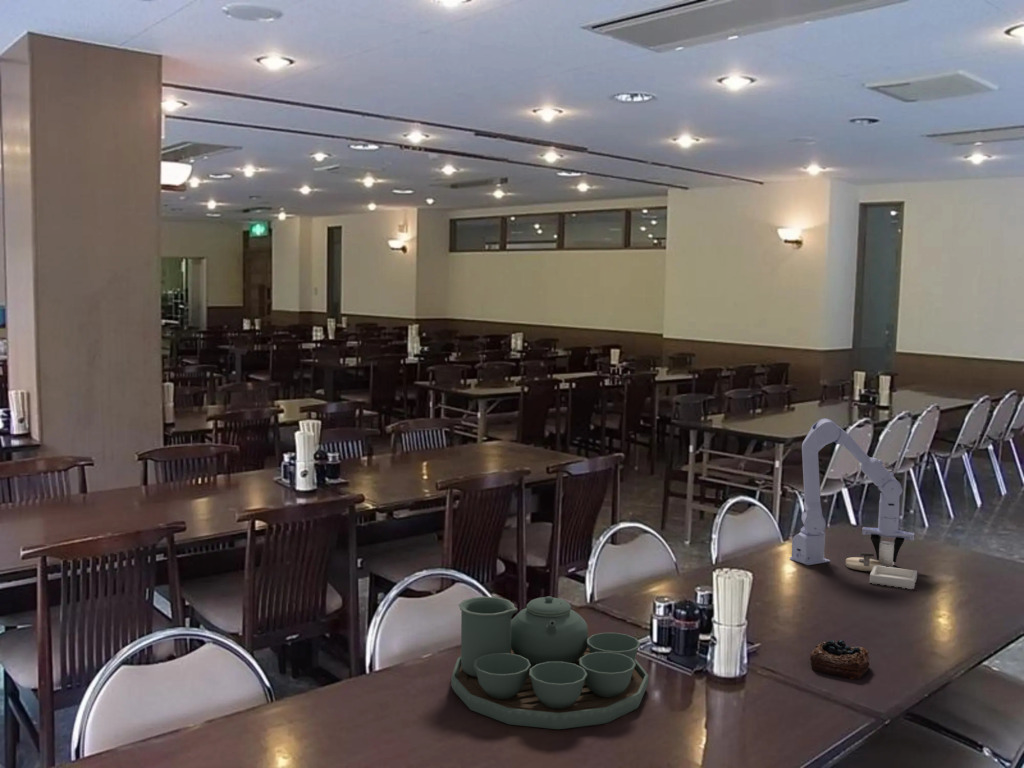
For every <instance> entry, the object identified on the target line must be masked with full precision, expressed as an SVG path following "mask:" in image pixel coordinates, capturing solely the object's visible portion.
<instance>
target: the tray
mask: <svg viewBox="0 0 1024 768" xmlns="http://www.w3.org/2000/svg"><path fill="white" fill-rule="evenodd" d="M917 579H918V570H915V569H907V568H899V567H894V566H893V567H886V566H879V565H874V567H873V569H872V571H870V574H869V584H870V583H872V584H871V585H877V584H880V585H879V586H884V585H887V586H886V587H891V586H894V587H893V588H898V587H902V588H901V589H905V588H907V589H906V590H912V589H914V590H915V587H916V584H915V583H917Z"/></svg>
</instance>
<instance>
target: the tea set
mask: <svg viewBox="0 0 1024 768" xmlns="http://www.w3.org/2000/svg"><path fill="white" fill-rule="evenodd" d="M458 607H459V610H460V611H461V612H460V613H461V621H460V622H461V624H460V626H461V627H460V628H461V629H460V632H461V633H460V635H461V636H460V638H461V639H460V644H461V646H460V656H459V657H457V659H456V662H455V664H454V667H453V671H452V674H451V679H450V686H451V687H452V688H451V689H452V690H453V692H454V693H455V694H456V696H458V697H459V699H460V700H461V701H462V702H463V703H464V704H465V706H467V708H469V710H470V711H473V712H475V713H478V714H481V715H483V716H486V717H488V718H491V719H493V720H496V721H498V722H502V723H504V724H507V725H512V726H521V727H532V728H543V729H551V730H552V729H553V730H564V729H565V730H566V729H573V728H581V727H588V726H597V725H603V724H608V723H610V722H612V721H614V720H616V719H618V718H620V717H623V716H624V715H627V714H629V713H631V712H633V711H635V710H637V709H638V708H639V706H640V704H641V702H642V699H643V697H644V695H645V693H646V689H647V688H648V685H649V673H647V671H646V670H645V669H644V667H643V666H642V665H641V664H640V662H638V660H637V659H636V657H637V653H638V650H639V648H640V645H641V642H640V641H639V640H638V639H637V638H636V637H634V636H631V635H629V634H625V633H620V632H600V633H596V634H592V635H591V636H589V632H588V630H589V629H588V628H589V627H588V624H587V622H586V620H585V619H584V618H583V617H582V615H580V613H578V612H577V611H575V610H573V609H572V608H571V607H572V606H571V604H570V603H569V602H567V601H566V600H565V599H562V598H558V597H552V596H549V595H548V596H544V597H537V598H533V599H531V600H530V601H529V602H528V603H527V604H526V607H525V608H523V609H521V610H520V611H519V612H518V610H519V609H518V608H517V607H515V603H513V602H511V600H510V599H507V598H506V599H505V598H502V597H496V596H475V597H470V598H467V599H464V600H462V601H461V602H460V603H459V604H458ZM517 612H518V613H517ZM515 613H516V614H515ZM514 614H515V616H514V617H513V615H514ZM512 617H513V618H512Z"/></svg>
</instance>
